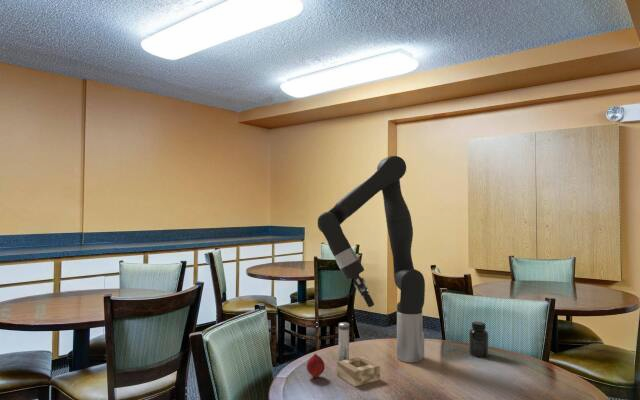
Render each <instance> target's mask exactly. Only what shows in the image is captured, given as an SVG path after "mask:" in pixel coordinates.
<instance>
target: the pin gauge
mask: <svg viewBox="0 0 640 400" xmlns="http://www.w3.org/2000/svg"><path fill="white" fill-rule="evenodd" d="M337 325H338V361H343V360H347V359H350V336H349V335H350V323H349V322H345V321H343V322H339V323H338V324H337Z"/></svg>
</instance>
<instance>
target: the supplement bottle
mask: <svg viewBox="0 0 640 400" xmlns="http://www.w3.org/2000/svg"><path fill="white" fill-rule="evenodd" d="M486 328H487V327H486V323H485V322H482V321H472V322H471V328H470V330H469V332H468V338H469V339H468V341H469V342H468V346H469V347H468V349H469V350H468V353H469V355H470V356H472V357H474V356H475V357H474V358H480V357H484V358H487V357H489V332H488V331H487V330H486Z"/></svg>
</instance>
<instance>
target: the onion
mask: <svg viewBox="0 0 640 400" xmlns="http://www.w3.org/2000/svg"><path fill="white" fill-rule="evenodd" d="M306 370H307V372H308V374H309V375H311V376H312V378H314V379H316V378H318V377H320V376H321V375H322V374H323V373H324V371H325V362H324V360H323V359H322V357H321V356H319V355H318V353H316V352H313V355H312V356H311V357H309V359H308V360H307V363H306Z"/></svg>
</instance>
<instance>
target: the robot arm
mask: <svg viewBox="0 0 640 400" xmlns="http://www.w3.org/2000/svg"><path fill="white" fill-rule="evenodd" d="M405 173H407V164H406V161H405V160H404V159H403V158H402V157H400V156H398V155H390V156H386V157H385V158H383V159H381V160H380V161H379V162H378V165H377V167H376V171H375V172H374V173H373V174H372V175H371V176H370V177H369V178H367V179H366V180H364V181H362V182H361V183H360V184H359V185H357V186H355V187H354V188H353V189H351V190H350V191H349V192H347V193H346V194H345V195H344V196H343V197H341V198H340V199H339V200H338V201H336V203H335V205H334V206H333V207H332V208H331V209H329V210H327V211H324V212H322V213H321V214H320V215H319V216H318V218H317V228H318V230H319V231H320V232H321V233H322V234H323V236H324V238H325V240H326V241H327V244H328V247H329V250H330V252H331V254H332V256H333V257H334V260H335V262H336V264H337V266H338V268H339V269H340V271H341V274H342V275H343V277H344V279H345V280H346V281H349V280H350V279H353V283H352V284H353V285H354V287H355V288H356V290H357V292H358V294H360V295H361V297H362V298H363V299H364V301H365V303H366V305H367V307H368V308H371V307H373V306H374V305H375V302H374V300H373V299H372V296H370V295H371V294H370V292H369V288H368V286H367V284H366V280H365V279H364V277H362V276H361V275H360V274H361V273H363V272H364V271H365V268H364V266H363V264H362V263H361V261H360V259H359V257H358V255H357V254H356V252H355V250H354V249H353V248H352V246H351V244H350V242H349V240H348V239H347V237H346V235H345V234H344V231H343V229H342V226H341V225H342V224H343V223H344V222H345V221H346V220H347V219H348V218H350V217H351V216H352V215H354V214H355V213H356V212H357V211H358V210H359V209H361V207H363V206H364V205H365V204H366V203H367V202H368V201H370V200H371V199H372V198H373V197H374V196H375V195H377V194H378V193H379V192H382V197H383V198H382V199H383V206H384V207H383V208H384V214H385V219H386V220H385V222H386V228H387V232H388V239H389V244H390V249H391V255H392V261H393V279H394V284H395V286H396V287H397V288H398V289H399V290H400V295H399V297H400V300H399V301H398V302H397V304H396V359H397V360H399V361H401V362H404V363H419V362H422V361H423V359H425V332H424V331H423V307H424V305H425V298H426V297H425V293H426V282H425V278H424V274H423V273H422V272H421V271H419V270H418V269H415V268H414V263H413V259H412V244H413V238H414V237H413V236H414V229H413V220H412V215H411V213H410V210H409V207H408V204H407V203H406V201H405V198H404V196H403V194H402V188H401V180H400V179H402V178H403V177H404V176H405Z"/></svg>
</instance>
